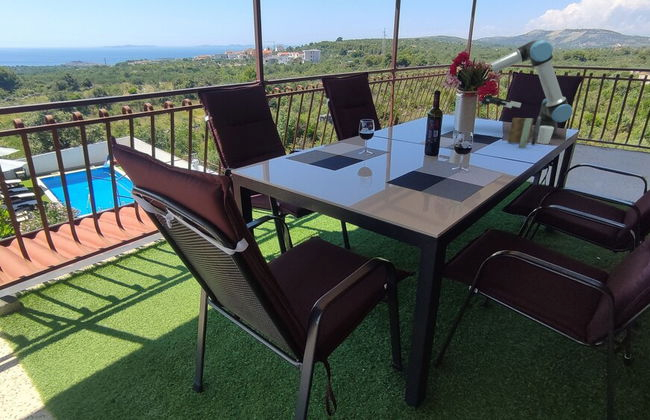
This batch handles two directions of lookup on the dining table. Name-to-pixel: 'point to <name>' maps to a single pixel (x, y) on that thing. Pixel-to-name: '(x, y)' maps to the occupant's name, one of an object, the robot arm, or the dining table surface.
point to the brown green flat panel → (518, 130)
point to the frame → (526, 132)
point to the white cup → (545, 134)
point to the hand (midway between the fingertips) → (516, 105)
